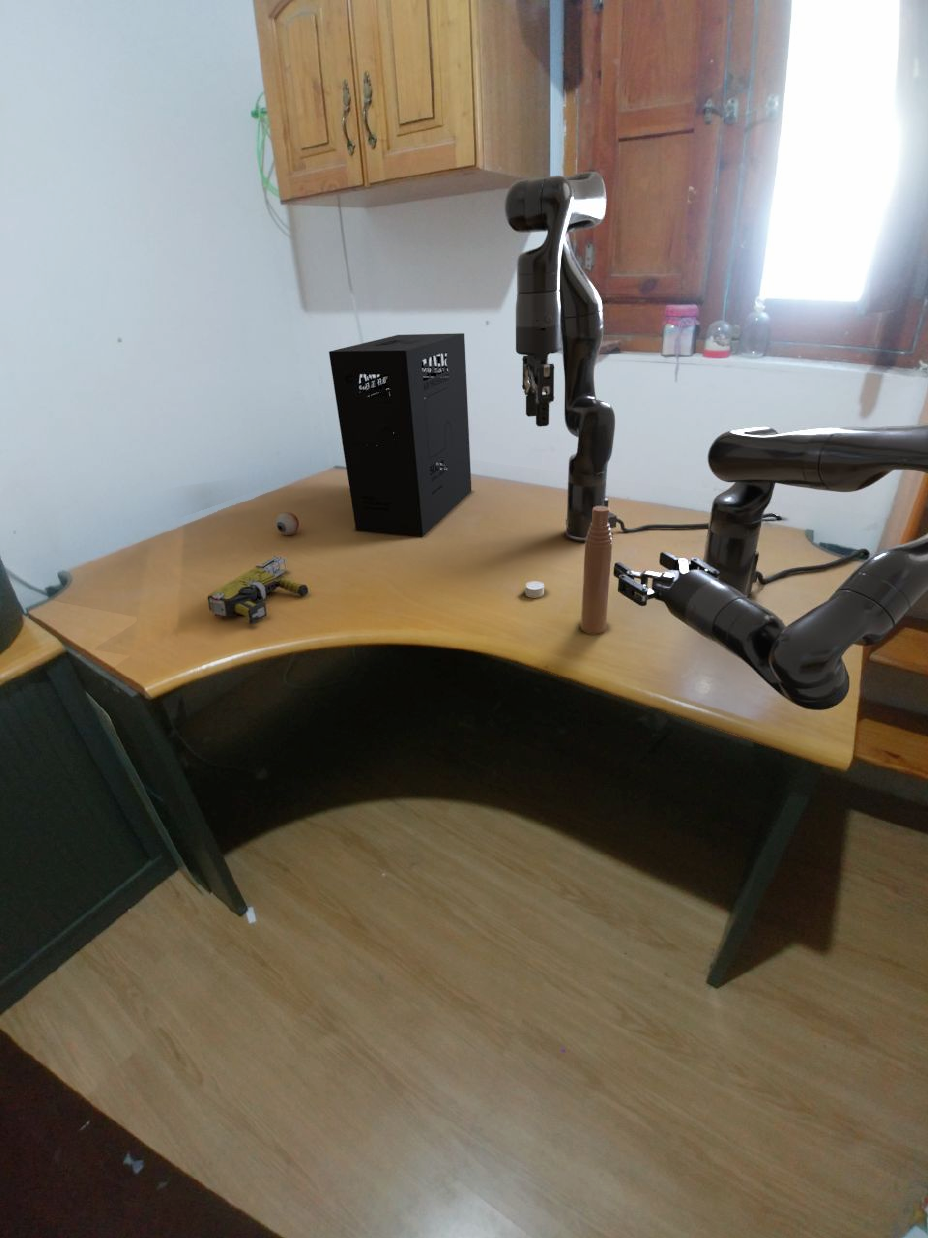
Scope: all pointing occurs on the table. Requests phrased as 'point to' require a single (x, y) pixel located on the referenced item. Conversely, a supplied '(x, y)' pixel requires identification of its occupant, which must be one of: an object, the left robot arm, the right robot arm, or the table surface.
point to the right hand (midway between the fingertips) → (639, 562)
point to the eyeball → (287, 523)
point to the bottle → (596, 572)
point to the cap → (534, 589)
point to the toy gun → (252, 591)
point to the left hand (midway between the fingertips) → (537, 420)
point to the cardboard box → (404, 430)
